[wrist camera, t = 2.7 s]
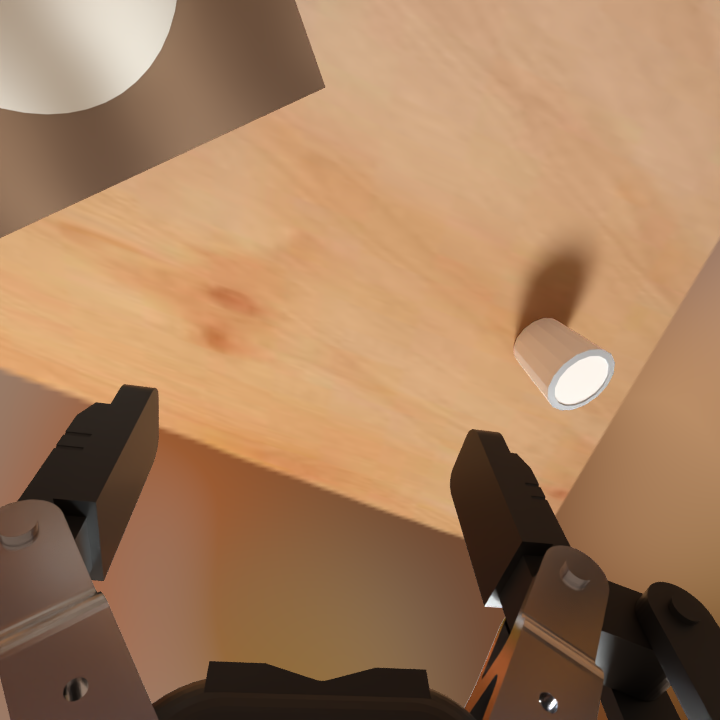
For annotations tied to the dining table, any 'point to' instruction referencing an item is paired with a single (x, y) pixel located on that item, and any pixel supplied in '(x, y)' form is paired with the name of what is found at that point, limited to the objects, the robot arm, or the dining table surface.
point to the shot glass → (563, 363)
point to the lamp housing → (132, 88)
